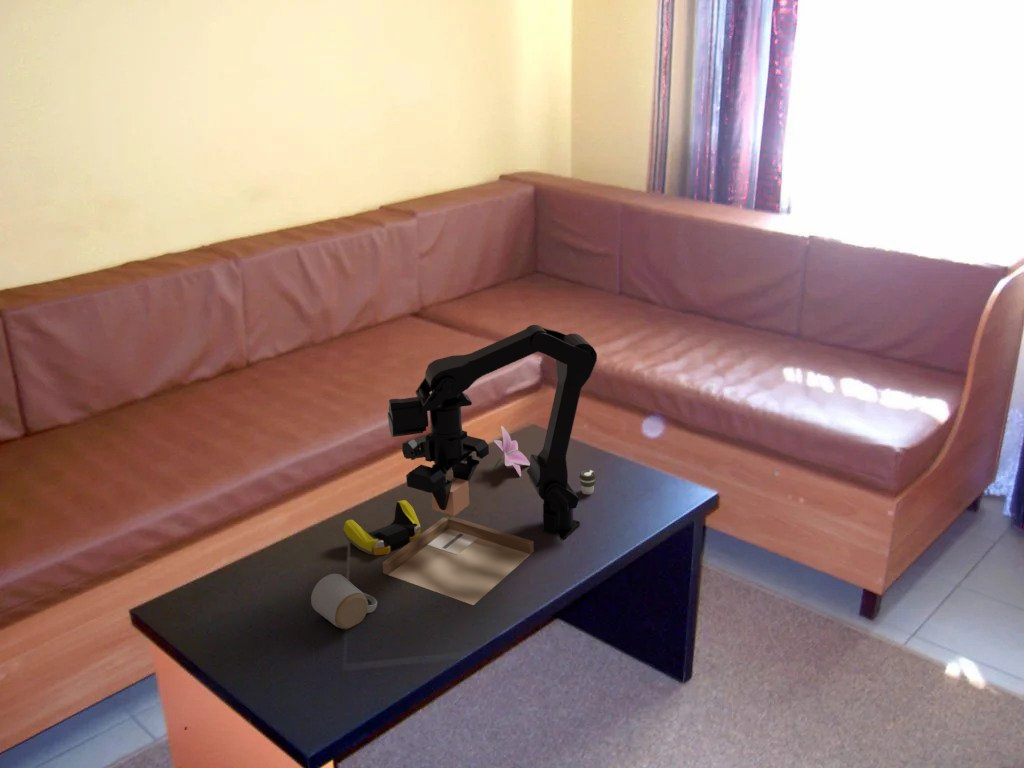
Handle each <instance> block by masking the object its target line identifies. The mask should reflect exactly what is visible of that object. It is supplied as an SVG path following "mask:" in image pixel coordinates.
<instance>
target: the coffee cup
mask: <svg viewBox="0 0 1024 768" xmlns="http://www.w3.org/2000/svg"><path fill="white" fill-rule="evenodd" d="M578 477H579V479H580V488H581V489H580V490H581V493H582V494H584V495H591V494H594V491H595V490H594V489H595V484H596V478H597V477H596V472H595V470H592V469H586V470H585V469H584V470H581V472H580V473H579V476H578Z"/></svg>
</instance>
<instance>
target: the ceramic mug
mask: <svg viewBox="0 0 1024 768" xmlns="http://www.w3.org/2000/svg"><path fill="white" fill-rule="evenodd" d="M310 600H311V601H310V602H311V607H312V608H313V610H315V612H317V613H318V614H320V616H321V617H323V618H324V619H326V620H328V622H330V624H332V625H333V626H335V627H337V628H339V629H341V630H349V629H350V628H352V627H354V626H356V625H358V624H360V623H361V622H363V620H364V618H365V617H366V615H367V614H370V613H373V612H374V611H375V610H376V609H377V607H378V600H377V599H376V598H375V597H374V596H372V595H370V594H368V593H365V592H363V591H361V589H359V588H357V587H356V586H355V585H354V584H353V583H352V582H351V581H350V580H349V579H347V578H346V577H345V576H344V575H342V574H340V573H329V574H328V575H326V576H324V577H321V579H320V580H318V582H317V583H316V584H315V586H314V588H313V590H312V592H311V596H310ZM369 601H370V603H371V604H369Z"/></svg>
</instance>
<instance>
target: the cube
mask: <svg viewBox="0 0 1024 768" xmlns="http://www.w3.org/2000/svg"><path fill="white" fill-rule="evenodd" d="M446 480H449V481H452V485H451V489H450V494H449V499H448V503H447V507H446V509H445V510H441V509H440V508H439V506H438V504H437V502H436V500H435V497H434V495H433V493H431V506H432V510H433V511H437V512H440V513H443V514H446V515H449V516H452V517H456V516H457V515H458V514H459V513H460V512H462V511H463V510H464V509H466V508H467V507H468V506H470V492H469V491H470V490H469V489H470V488H469V487H470V486H469V483H468V481H466V480H463V479H459V478H455V477H453V476H452V475H448V474H447V475H446Z"/></svg>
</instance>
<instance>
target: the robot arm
mask: <svg viewBox="0 0 1024 768" xmlns="http://www.w3.org/2000/svg"><path fill="white" fill-rule="evenodd" d="M536 353H542V354H544V355H546V356H548V357H550V358H552V359H555V366H556V374H557V383H556V389H555V393H554V397H553V400H552V401H553V402H552V407H551V411H550V414H549V415H550V416H549V420H548V424H547V430H546V434H545V439H544V443H543V447H542V449H541V451H540V452H539V453H538V454H530V459H529V460H530V461H529V463H530V465H528V469H527V470H526V473H527V475H528V479H529V481H530V483H531V485H532V486H533V488H534V489H535V491H536V492H537V494H538V496H539V498H541V500H543V504H542V530H543V532H545V533H549V534H552V535H556V534H558V536H559V538H560V539H566V538H567V537H568V536H570V535H571V533H572V532H574V531H575V530H576V529H577V528H578V527H579V526H581V522H580V521H579V520H575V519H574V509H576V508H577V506H578V504H579V501H580V497H578V494H576V492H575V490H573V488H572V486H571V485H570V484H569V481H568V480H569V474H568V473H569V472H568V465H567V453H568V449H569V444H570V441H571V440H570V439H571V436H572V431H573V427H574V422H575V418H576V413H577V410H578V406H579V400H580V397H581V391H582V389H583V387H584V385H585V384H587V382H588V380H589V379H590V378H591V376H592V373H593V371H594V369H595V367H596V363H597V362H598V361H597V360H598V355H597V352H596V350H595V348H594V347H593V346H592V345H591V344H590V342H588V340H586V339H585V337H583V336H581V335H580V334H577V333H568V334H565V333H563V332H561V331H557V330H554V329H549V328H546V327H542V326H541V325H539V324H532V325H531V324H530V325H529V326H527V327H526V328H525V329H523V330H520V331H518V332H516V333H514V334H512V335H509V336H507V337H505V338H502V339H501V340H498V341H496V342H494V343H491V344H489V345H487V346H485V347H482V348H480V349H478V350H475V351H472V352H470V353H467V354H458V355H457V354H456V355H450V356H445V357H441V358H438V359H435V360H433V361H431V362H430V363H429V364H428V365H427V367H426V370H425V375H424V378H423V380H421V382H420V384H419V386H418V387H417V389H416V390H415V391H414V392H415V395H416V396H412V397H406V398H391V399H389V400H388V405H389V406H388V411H387V419H388V426H389V432H390V435H391V438H395V437H402V436H404V437H405V436H410V435H418V434H423V433H424V432H427V428H428V427H429V421H430V432H429V433H428V434H423V435H419V436H416V437H415V438H412V439H410V440H409V439H407V440H406V441H404V442H402V445H401V446H402V447H401V450H402V451H401V452H402V454H403V457H404V458H405V459H407V460H408V459H410V460H411V461H413V460H416V459H422V458H424V460H425V462H429V463H431V462H433V464H432V465H431V467H430V466H427V465H423V464H419V465H418V466H417V467H415V468H413V469H412V470H411V471H409V472H408V473H406V475H405V477H406V486H407V487H408V488H413V489H416V490H419V491H423V492H425V493H429V494H432V493H433V495H434V497H435V500H436V502H437V504H438V506H439V508H440V509H441V510H445V509H446V507H447V503H448V499H449V494H450V489H451V485H452V481H449V480H446V475H448V474H447V472H448V471H450V470H452V475H453V476H452V477H455V478H459V479H463V480H466V481H468V484H470V481H471V479H472V476H473V475H474V473H475V471H476V469H477V467H478V466H479V464H480V460H483V459H484V458H485V457H486V456H487V455H490V451H489V450H490V449H489V448H490V446H489V444H488V443H487V441H486V440H485V439H481V438H478V437H475V436H470V435H468V431H465V430H464V429H463V421H462V407H469V406H472V405H473V402H472V400H471V399H470V397H469V395H467V394H466V393H464V392H465V391H466V390H468V389H469V388H471V386H472V385H473V384H474V383H475V382H476V381H477V380H479V379H480V378H482V377H484V376H486V375H489V374H491V373H493V372H495V371H497V370H499V369H501V368H504V367H507V366H509V365H511V364H513V363H515V362H517V361H519V360H522V359H524V358H527V357H529V356H531V355H533V354H536ZM428 412H429V414H428ZM473 452H475V454H476V457H477V458H478V459H480V460H478V459H475V458H474V455H473Z"/></svg>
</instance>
